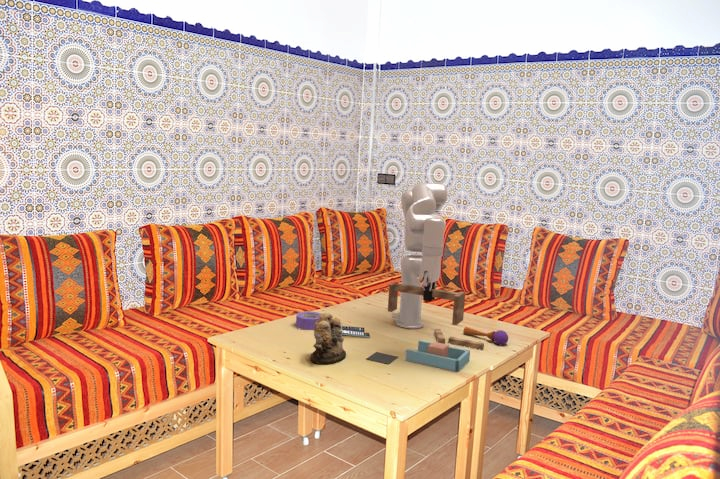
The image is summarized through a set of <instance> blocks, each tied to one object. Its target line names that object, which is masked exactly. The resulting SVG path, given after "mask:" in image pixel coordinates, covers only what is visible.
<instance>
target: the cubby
mask: <svg viewBox="0 0 720 479" xmlns="http://www.w3.org/2000/svg"><path fill="white" fill-rule="evenodd" d="M417 341H418V344H417V345H418V346H417V350H414V349H410V348H406V350H405V361H408V362H410V363H411V362H412V363H416V364H421V365H425V366H430V367H435V368H439V369H443V370H447V371H452V372H458V373H459V372H460V371H461V370H462V369H463V367H465V366H466V365H467V364H468V363H469V362H470V356H471V355H470V354H471V351H470V350H469V349H464V348H459V347H453V346H449V349H448V357H443V356H438V355H434V354H429V353H428V346H429V345H430V344H431V343H432V342H430V341H424V340H421V339H420V340H417Z"/></svg>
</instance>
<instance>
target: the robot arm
mask: <svg viewBox="0 0 720 479" xmlns="http://www.w3.org/2000/svg"><path fill="white" fill-rule="evenodd" d="M400 197H401V200H400V204H401V209H402V213H403V216H404V222H405V225H404V247H405V250H406V251H408V252H414V253H421V254H407V255H405V256H402V258H401V259H400V260H401V261H400V273H401V274H400V276H401V277H400V278H401V279H400V280H401V283H400V284H405V285H411V286H418V287H424V294H423V296H422V295H416V294H410V293H404V292H400V302H399V312H398V313H397V312H395V311H393V312H391V318H393V319H395V325H396V326H397V327H400V328H404V329H409V330H411V329H421V328H423V327H424V324H425V322H423V321H422V320H421V317H422V303H423V302H424V301H425V302H428V303H430V302H432V301H435V299H436V298H435V297H432V289H437V282H438V281H439V279H440V278H441V266H442V265H441V264H442V263H441V262H442V261H441V259H442V258H441V257H443V255H444V253H443V252H444V239H445V230H446V225H447V224H446V220H445V219H444V217H443V216H442V215H436V214H434V213H435V212H436V211H439V210H441V209H442V208H443V207H444V206H445V204H446V203H447V200H448V190H447V187H446V186H445V185H444V184H442V183H435V182H434V183H432V182H420V183H417V184H415V185H414V186H413V187H412V189H411V190H405V191H404V192H402V194H401V196H400Z"/></svg>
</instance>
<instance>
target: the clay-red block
mask: <svg viewBox="0 0 720 479" xmlns="http://www.w3.org/2000/svg"><path fill="white" fill-rule="evenodd" d="M430 343H431V344H430V345H429V346H428V353H429V354H434V355H438V356H443V357H448V349H449V343H448V344H447V343H445V344H443V343H438V341H433V342H430Z"/></svg>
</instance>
